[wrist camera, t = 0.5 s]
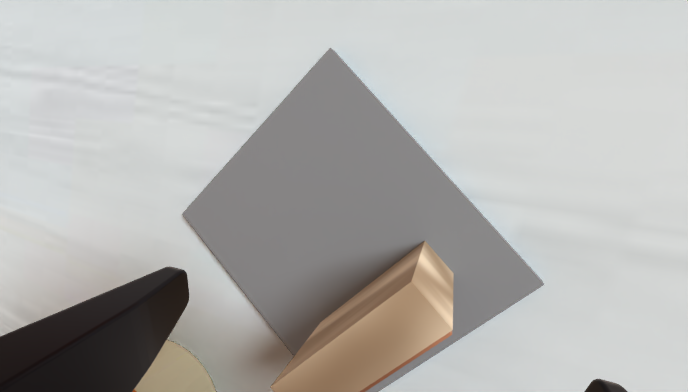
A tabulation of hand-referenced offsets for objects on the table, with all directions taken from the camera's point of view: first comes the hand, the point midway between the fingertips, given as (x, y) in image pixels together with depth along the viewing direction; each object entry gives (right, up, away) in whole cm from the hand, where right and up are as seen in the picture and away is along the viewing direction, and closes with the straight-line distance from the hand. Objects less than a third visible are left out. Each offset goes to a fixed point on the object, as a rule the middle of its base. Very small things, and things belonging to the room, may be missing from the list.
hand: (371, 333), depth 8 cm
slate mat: (-1, 0, +13) cm, 13 cm away
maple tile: (+1, -3, +12) cm, 12 cm away
